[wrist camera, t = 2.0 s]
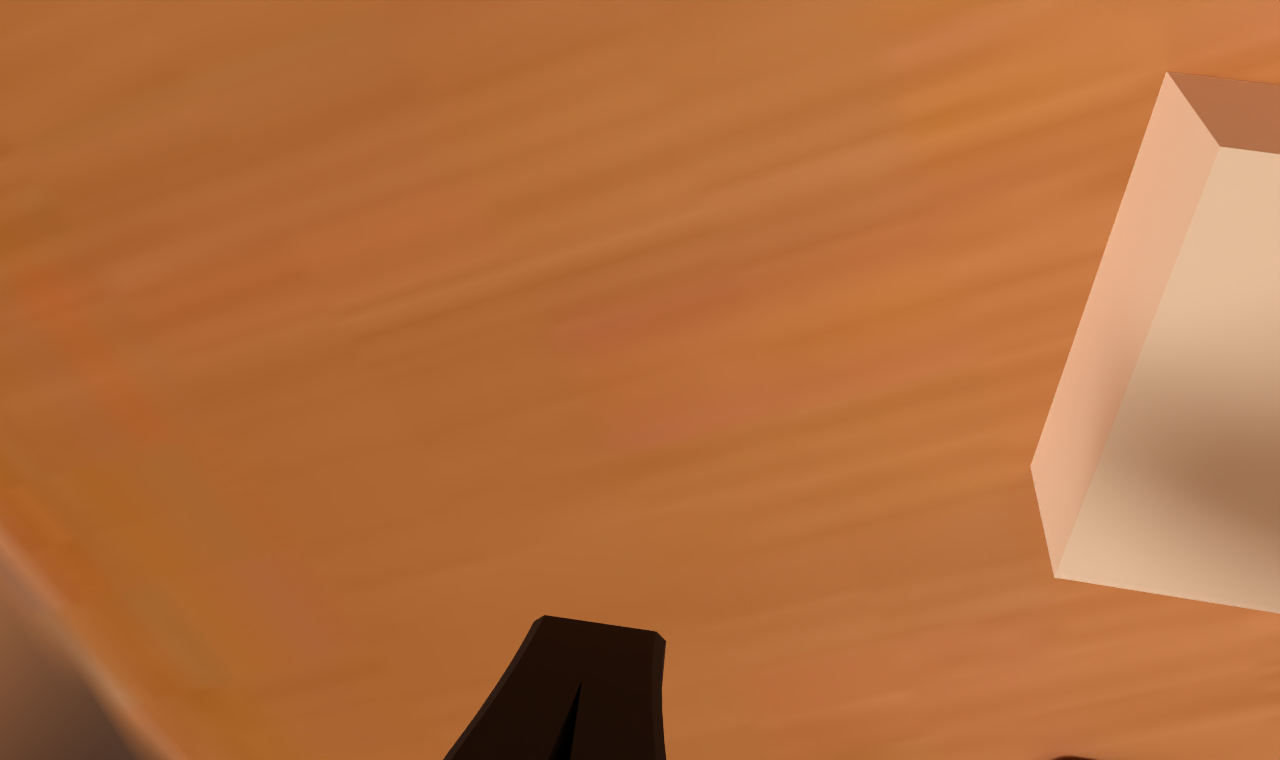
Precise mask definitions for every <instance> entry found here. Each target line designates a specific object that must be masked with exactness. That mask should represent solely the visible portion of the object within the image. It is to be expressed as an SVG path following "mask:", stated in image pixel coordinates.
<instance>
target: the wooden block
mask: <svg viewBox="0 0 1280 760" xmlns="http://www.w3.org/2000/svg"><path fill="white" fill-rule="evenodd" d="M1030 467H1031V472H1032V476H1033V481H1034V486H1035V490H1036V495H1037V500H1038V504H1039V509H1040V514H1041V518H1042V523H1043V528H1044V532H1045V537H1046V541H1047V546H1048V551H1049V555H1050V560H1051V565H1052V569H1053V574H1054V577H1055V578H1061V579H1068V580H1074V581H1080V582H1086V583H1093V584H1099V585H1105V586H1111V587H1118V588H1124V589H1130V590H1136V591H1142V592H1149V593H1155V594H1161V595H1167V596H1174V597H1180V598H1186V599H1192V600H1199V601H1205V602H1211V603H1217V604H1224V605H1230V606H1236V607H1242V608H1249V609H1255V610H1261V611H1267V612H1274V613H1280V85H1274V84H1266V83H1258V82H1250V81H1242V80H1233V79H1225V78H1217V77H1209V76H1201V75H1193V74H1185V73H1177V72H1169V71H1167V72H1166V74H1165V77H1164V80H1163V83H1162V86H1161V89H1160V92H1159V95H1158V98H1157V101H1156V103H1155V106H1154V109H1153V112H1152V115H1151V118H1150V121H1149V124H1148V127H1147V130H1146V133H1145V135H1144V138H1143V141H1142V144H1141V147H1140V150H1139V153H1138V156H1137V159H1136V162H1135V164H1134V167H1133V170H1132V173H1131V176H1130V179H1129V182H1128V185H1127V188H1126V191H1125V193H1124V196H1123V199H1122V202H1121V205H1120V208H1119V211H1118V214H1117V217H1116V220H1115V223H1114V225H1113V228H1112V231H1111V234H1110V237H1109V240H1108V243H1107V246H1106V249H1105V252H1104V254H1103V257H1102V260H1101V263H1100V266H1099V269H1098V272H1097V275H1096V278H1095V281H1094V283H1093V286H1092V289H1091V292H1090V295H1089V298H1088V301H1087V304H1086V307H1085V310H1084V313H1083V315H1082V318H1081V321H1080V324H1079V327H1078V330H1077V333H1076V336H1075V339H1074V342H1073V344H1072V347H1071V350H1070V353H1069V356H1068V359H1067V362H1066V365H1065V368H1064V371H1063V373H1062V376H1061V379H1060V382H1059V385H1058V388H1057V391H1056V394H1055V397H1054V400H1053V403H1052V405H1051V408H1050V411H1049V414H1048V417H1047V420H1046V423H1045V426H1044V429H1043V432H1042V434H1041V437H1040V440H1039V443H1038V446H1037V449H1036V452H1035V455H1034V458H1033V461H1032V463H1031V466H1030Z"/></svg>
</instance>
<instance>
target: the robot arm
mask: <svg viewBox="0 0 1280 760" xmlns="http://www.w3.org/2000/svg"><path fill="white" fill-rule="evenodd" d="M665 646H666V641H665V640H664V639H663V638H662V637H661V636H660V635H659V634H658V633H657V632H655V631H649V630H642V629H635V628H628V627H621V626H615V625H608V624H601V623H594V622H587V621H581V620H574V619H567V618H560V617H553V616H547V615H544V616H542V617H541V618H539V619H537V620H536V621H534V623H533V624H532V626H531V628H530V630H529V632H528V634H527V636H526V638H525V639H524V641H523V643H522V645H521V646H520V648H519V650H518V651H517V653H516V655H515V656H514V658H513V660H512V661H511V663H510V665H509V666H508V668H507V669H506V671H505V673H504V674H503V676H502V677H501V679H500V680H499V682H498V683H497V685H496V686H495V688H494V689H493V691H492V692H491V694H490V695H489V697H488V698H487V700H486V701H485V703H484V704H483V706H482V707H481V708H480V710H479V711H478V713H477V714H476V716H475V717H474V718H473V720H472V721H471V723H470V724H469V725H468V727H467V728H466V729H465V731H464V732H463V733H462V735H461V736H460V737H459V739H458V740H457V741H456V743H455V744H454V745H453V747H452V748H451V750H450V751H449V752H448V754H447V755H446V756H445V758H444V759H443V760H666V754H665V744H664V731H663V716H662V680H663V669H664V658H665Z"/></svg>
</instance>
